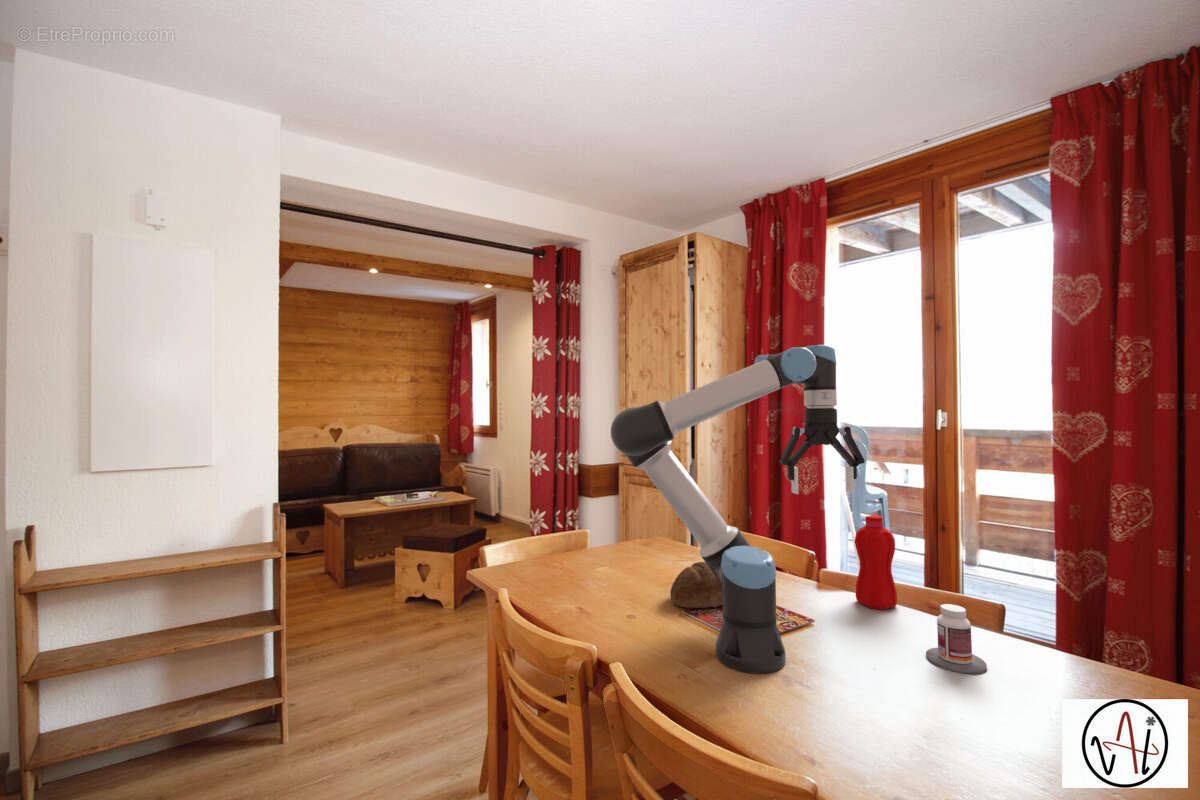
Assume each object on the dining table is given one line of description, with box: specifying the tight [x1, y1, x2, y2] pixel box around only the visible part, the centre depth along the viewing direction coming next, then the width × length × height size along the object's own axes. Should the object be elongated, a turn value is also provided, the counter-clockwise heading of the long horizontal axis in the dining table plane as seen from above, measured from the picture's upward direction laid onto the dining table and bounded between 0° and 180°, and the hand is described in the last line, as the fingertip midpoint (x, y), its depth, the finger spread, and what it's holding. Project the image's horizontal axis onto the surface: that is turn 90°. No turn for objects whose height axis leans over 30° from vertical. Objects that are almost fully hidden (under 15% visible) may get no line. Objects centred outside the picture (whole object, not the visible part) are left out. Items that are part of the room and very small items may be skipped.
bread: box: [669, 561, 723, 609], centre depth 157 cm, size 16×29×11 cm, turn 121°
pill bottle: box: [936, 603, 973, 664], centre depth 115 cm, size 6×6×11 cm
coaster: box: [925, 647, 988, 675], centre depth 115 cm, size 11×11×1 cm
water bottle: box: [854, 514, 898, 611], centre depth 151 cm, size 9×11×25 cm
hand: (822, 493), depth 131 cm, fingers open, 13 cm apart
